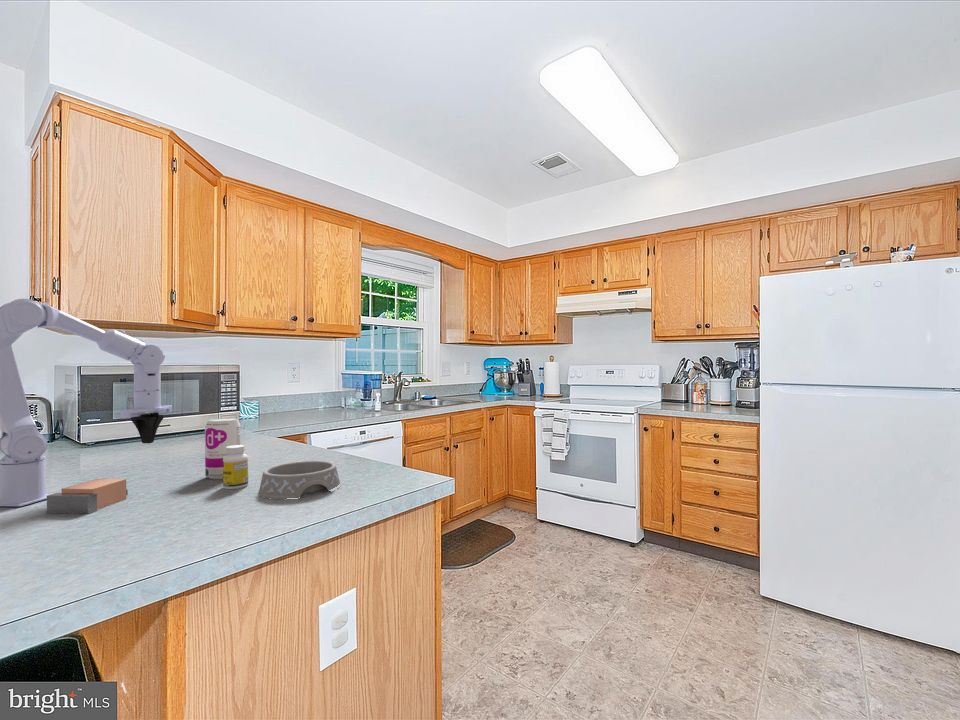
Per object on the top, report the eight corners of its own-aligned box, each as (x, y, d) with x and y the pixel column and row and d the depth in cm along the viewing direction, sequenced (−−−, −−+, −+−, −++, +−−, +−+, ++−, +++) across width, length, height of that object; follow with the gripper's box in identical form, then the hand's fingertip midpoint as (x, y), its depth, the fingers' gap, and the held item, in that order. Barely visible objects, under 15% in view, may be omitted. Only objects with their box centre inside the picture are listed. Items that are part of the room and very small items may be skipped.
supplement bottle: (219, 487, 111) (219, 446, 111) (243, 482, 115) (243, 443, 115) (227, 491, 107) (227, 449, 107) (251, 486, 111) (251, 445, 111)
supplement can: (225, 480, 117) (225, 421, 117) (197, 479, 119) (197, 421, 119) (247, 473, 125) (247, 418, 125) (221, 471, 127) (221, 417, 127)
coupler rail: (46, 513, 92) (46, 495, 92) (104, 494, 105) (104, 479, 105) (87, 513, 92) (87, 496, 92) (141, 495, 105) (141, 479, 105)
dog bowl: (248, 490, 109) (248, 467, 109) (323, 476, 121) (323, 456, 121) (272, 506, 96) (272, 480, 96) (353, 489, 109) (353, 466, 109)
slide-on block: (61, 510, 94) (61, 488, 94) (97, 499, 102) (97, 478, 102) (92, 511, 94) (92, 489, 94) (126, 499, 102) (126, 479, 102)
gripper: (138, 392, 112) (139, 448, 112) (182, 389, 126) (182, 438, 126) (112, 392, 113) (112, 448, 113) (158, 389, 127) (158, 438, 127)
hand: (147, 442), depth 119 cm, fingers closed
